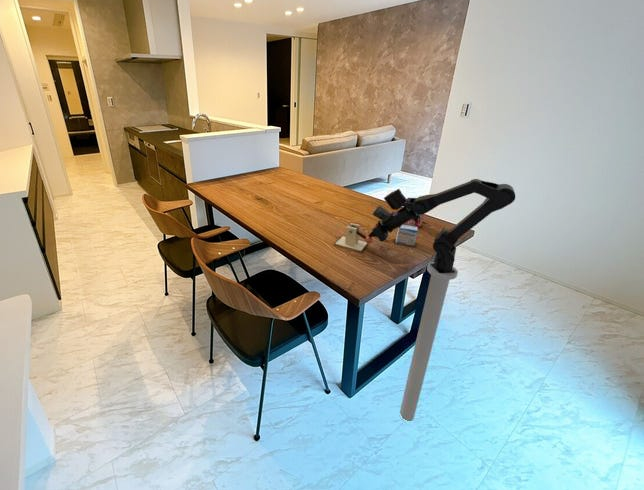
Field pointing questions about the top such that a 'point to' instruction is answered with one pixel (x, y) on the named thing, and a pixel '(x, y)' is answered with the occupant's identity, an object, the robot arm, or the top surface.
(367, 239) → the switch lever
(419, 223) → the soda can
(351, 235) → the switch bracket
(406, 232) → the medicine box
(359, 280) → the top surface
